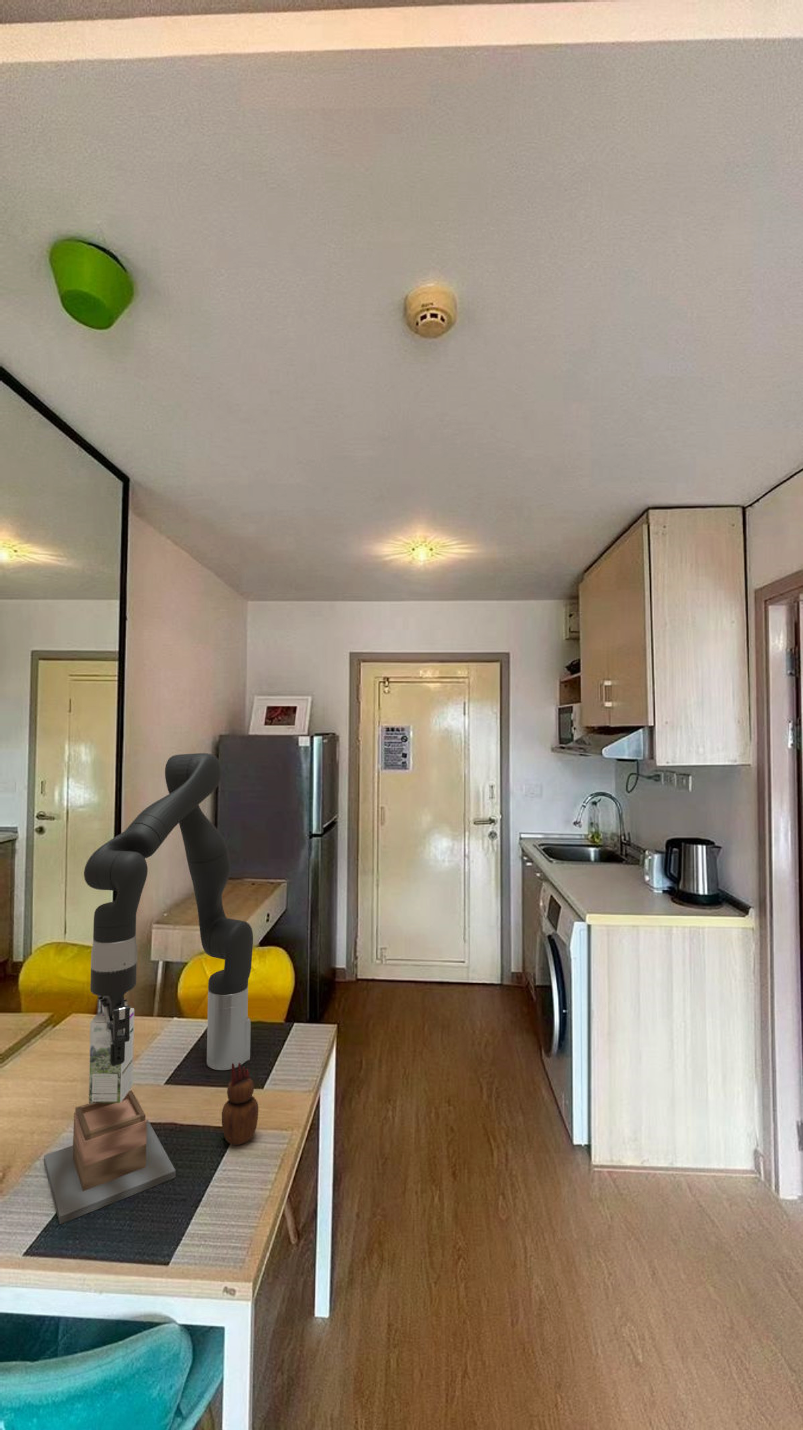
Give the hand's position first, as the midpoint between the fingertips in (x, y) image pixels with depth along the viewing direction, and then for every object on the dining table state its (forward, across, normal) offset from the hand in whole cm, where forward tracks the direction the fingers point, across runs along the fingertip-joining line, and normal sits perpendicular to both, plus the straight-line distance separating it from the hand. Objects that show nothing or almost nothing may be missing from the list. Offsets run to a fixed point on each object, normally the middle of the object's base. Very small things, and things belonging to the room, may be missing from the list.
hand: (111, 1054), depth 112 cm
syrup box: (+7, 0, 0) cm, 7 cm away
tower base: (+20, 0, 0) cm, 20 cm away
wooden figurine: (+20, -6, -22) cm, 31 cm away
